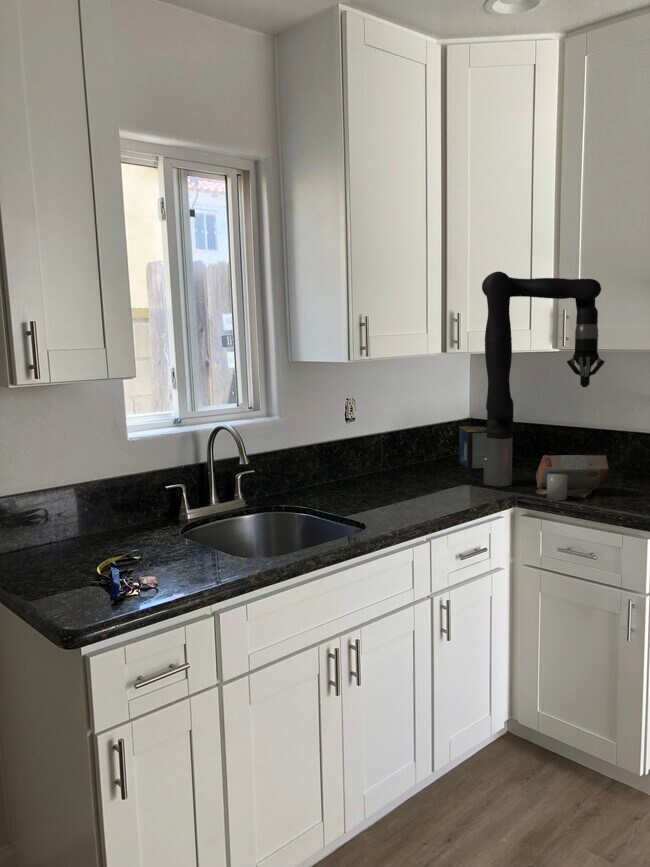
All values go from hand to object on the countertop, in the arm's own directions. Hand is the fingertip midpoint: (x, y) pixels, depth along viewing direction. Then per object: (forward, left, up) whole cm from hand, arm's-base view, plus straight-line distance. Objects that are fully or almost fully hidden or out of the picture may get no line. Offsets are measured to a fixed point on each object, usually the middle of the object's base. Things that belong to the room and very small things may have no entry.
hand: (584, 386), depth 254 cm
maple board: (-2, -14, -35) cm, 38 cm away
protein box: (-47, +19, -35) cm, 62 cm away
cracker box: (+9, -11, -28) cm, 31 cm away
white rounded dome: (-2, -27, -35) cm, 44 cm away
